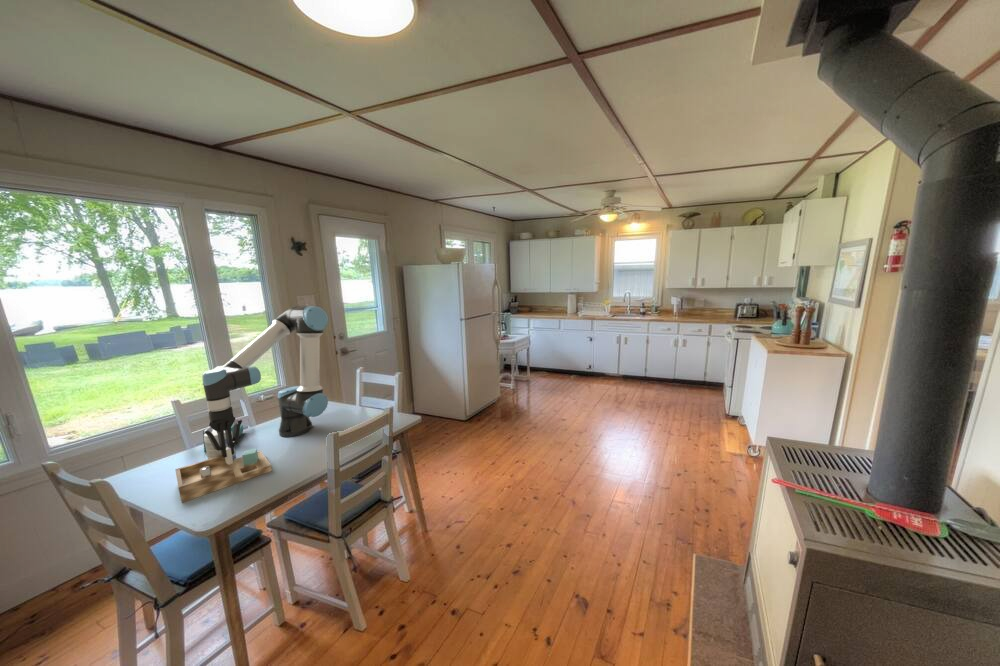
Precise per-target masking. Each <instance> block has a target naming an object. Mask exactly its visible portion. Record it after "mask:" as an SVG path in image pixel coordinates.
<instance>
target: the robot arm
mask: <svg viewBox="0 0 1000 666" xmlns="http://www.w3.org/2000/svg"><path fill="white" fill-rule="evenodd" d="M271 322H272V324H271V325H269V327H267V328H266V329H265V330H264V331H263V332H261V333H260V334H259V335H258V336H257V337H256V338H254V339H253V340H252V341H251V342H250V343H248V344H247V345H246V346H244V348H242V349H241V350H240V351H239V352H237V354H235V355H234V356H233V357H232V358H231V359H230V360H228V361H227V362H226V363H225V364H224V365H217V366H216V367H214V368H213V369H210V370H207V371H205V372H203V373H202V386H203V389H204V395H205V400H206V406H207V410H208V417H209V425H208V427H206V428H207V429H205V428H204V429H205V430H204V429H203V430H202V433H203V432H204V433H205V434H206V435H207V436H208V438H209V440H210V441H211V443H212V445H213V447H214V449H215V450H217V451H219V450H221V454H222V457H224V458H225V460H226V463H227V464H228V465H230V464H232V463H233V459H232V455H233V454H234V447H235V445H238V444H239V440H240V439H239V438H240V437H239V432H240V425H242V422H243V420H242V419H240V418H236V417H235V416H234V411H233V406H232V399H231V393H230V392H231V391H234V390H238V389H241V388H246V387H249V386H253V385H256V384H258V383H259V382H261V379H262V375H261V372H260V369H259V368H258V367H256V366H252V365H253V364H254V363H256V361H258V360H259V359H260V358H261V357H262V356H263V355H264V354H265V353H267V352H268V351H269V350H270V349H271V348H272V347H274V346H275V345H276V344H277V343H279V341H281V339H283V338H284V337H285V336H289V335H291V333H293V332H295V331H296V332H295V333H296V335H297V336H298V337H299V385H294V386H290V387H286V388H283V389H281V390H279V391H278V392H277V401H278V407H279V413H280V424H279V427H278V432H279V434H278V435H279V437H282V438H293V437H297V436H301V435H304V434H306V433H309V432H310V431H312V429H313V427H314V426H313V422H312V420H311V419H310V417H311V418H315V417H319V416H321V415H322V414H323V413H324V412H325V411H326V409H327V408H328V404H329V399H328V397H327V396H326V394H324V388H323V386H322V385H321V384H320V382H321V381H320V375H321V374H320V372H321V371H320V369H321V367H320V365H321V363H320V361H321V360H320V358H321V357H320V354H321V353H320V351H321V348H320V347H321V346H320V345H321V343H320V337H322V335H323V334H324V330H325V329H326V328H327V326H328V323H329V317H328V314H327V312H326V311H325V310H324V309H323V308H321V307H320V306H316V305H315V306H314V305H295V306H291V307H289V308H288V309H286V310H285V311H283V312H282V313H281V314H279V315H278V316H276V317H275V318H274V319H273V320H272V321H271ZM232 425H234V430H233V439H232V434H231V427H232ZM212 430H215V431H217V434H218V440H219V444H218V443H217V441H216V439H215V437H214V435H213V434H212ZM224 431H225V434H226V440H227V446H228V447H226V444H225V438H224ZM219 445H220V446H219Z"/></svg>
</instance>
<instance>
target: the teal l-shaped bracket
mask: <svg viewBox="0 0 1000 666" xmlns="http://www.w3.org/2000/svg"><path fill="white" fill-rule="evenodd" d="M207 428H208V427H205V428H204V429H203V430H205V429H207ZM233 430H234V424H233V425H232V427H231V431H232V435H233ZM242 433H244V425H243V424H241V425H240V432H239V438H240V436H241V435H242ZM204 434H205V433H204V432H203V431H202V437H203V450H204V451H203V452H204V453H206V447H205V442H204Z"/></svg>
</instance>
